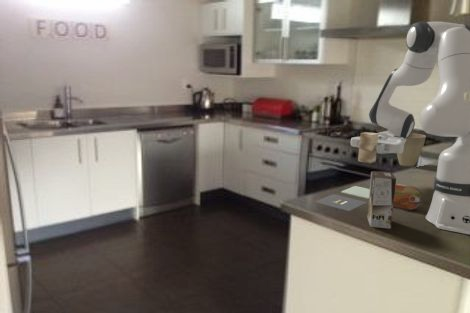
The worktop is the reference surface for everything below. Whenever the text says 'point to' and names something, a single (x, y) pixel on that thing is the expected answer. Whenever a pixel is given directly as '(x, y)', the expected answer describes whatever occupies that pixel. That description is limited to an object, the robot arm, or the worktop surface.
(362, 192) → the board
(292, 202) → the worktop surface
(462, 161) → the robot arm
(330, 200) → the tile
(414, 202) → the tin
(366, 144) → the beech block
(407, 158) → the plant pot
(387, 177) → the coffee box
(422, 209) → the worktop surface
